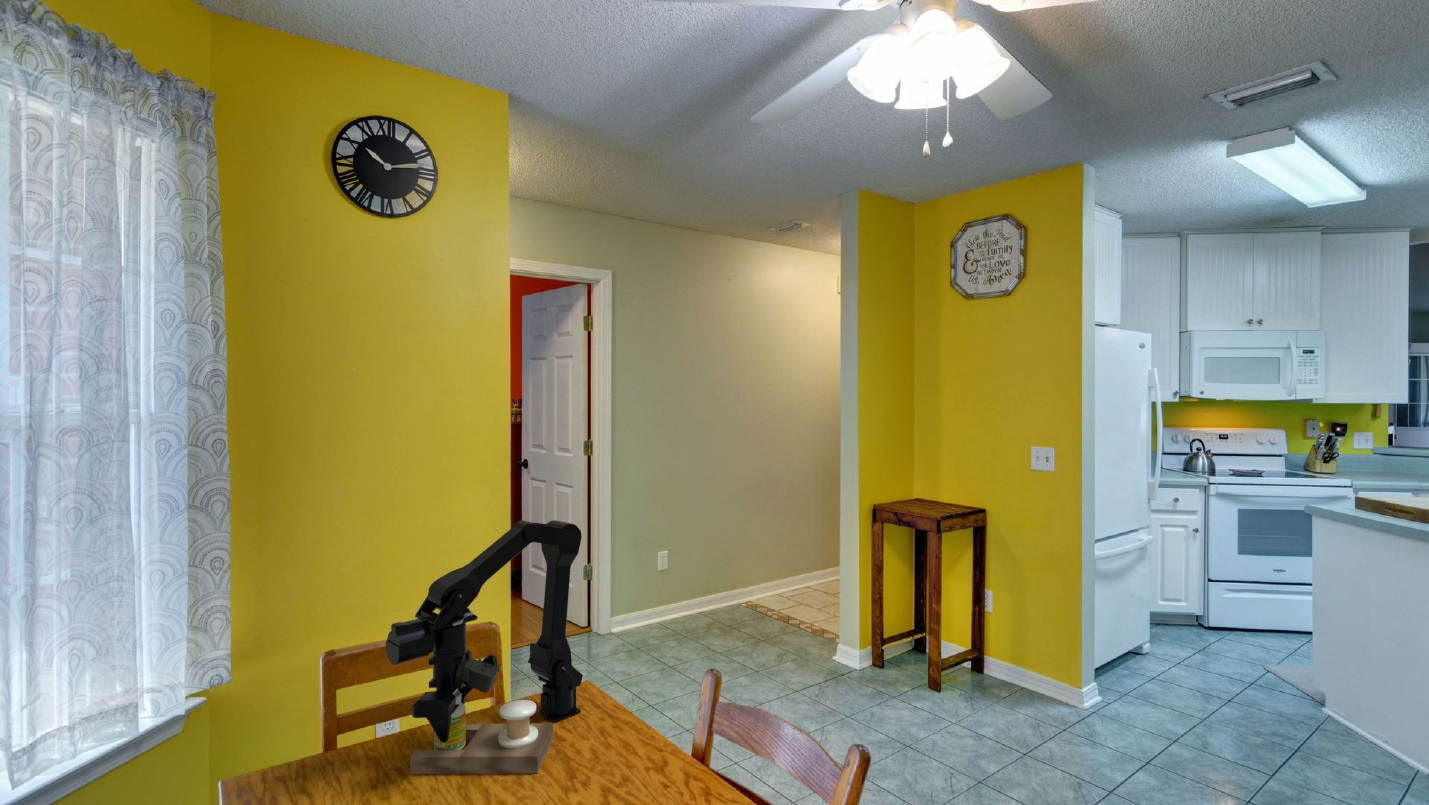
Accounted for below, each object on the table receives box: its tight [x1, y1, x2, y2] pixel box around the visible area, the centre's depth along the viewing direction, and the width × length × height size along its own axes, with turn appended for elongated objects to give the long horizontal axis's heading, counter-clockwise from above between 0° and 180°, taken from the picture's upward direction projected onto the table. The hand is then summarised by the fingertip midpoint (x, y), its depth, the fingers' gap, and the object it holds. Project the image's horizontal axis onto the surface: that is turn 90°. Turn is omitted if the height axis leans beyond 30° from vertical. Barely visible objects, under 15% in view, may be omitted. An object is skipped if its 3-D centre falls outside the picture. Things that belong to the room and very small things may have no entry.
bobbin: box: [498, 699, 538, 749], centre depth 124 cm, size 7×7×6 cm
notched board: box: [410, 722, 554, 775], centre depth 124 cm, size 22×12×3 cm, turn 91°
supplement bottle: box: [433, 690, 467, 750], centre depth 124 cm, size 5×5×10 cm
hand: (450, 733), depth 124 cm, fingers closed on supplement bottle, 5 cm apart
